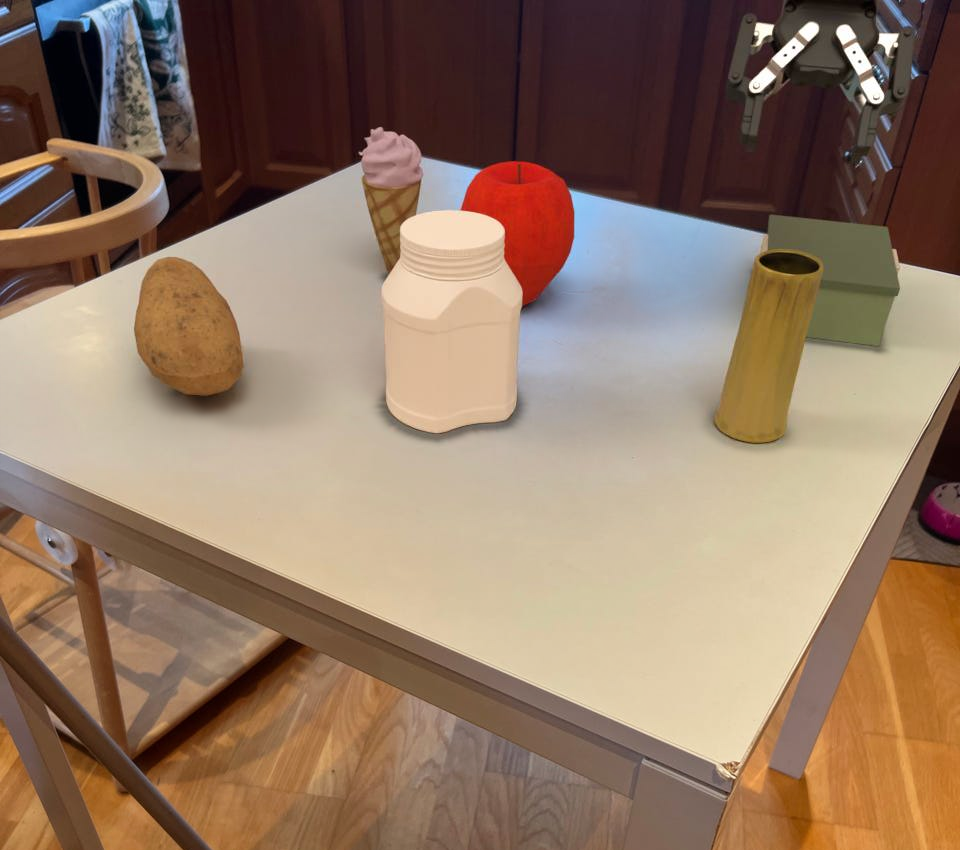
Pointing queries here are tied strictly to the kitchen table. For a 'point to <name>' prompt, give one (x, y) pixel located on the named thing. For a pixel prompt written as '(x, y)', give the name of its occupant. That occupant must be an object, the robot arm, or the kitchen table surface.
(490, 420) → the jar
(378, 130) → the ice cream cone
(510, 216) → the apple
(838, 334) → the lunchbox
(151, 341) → the potato
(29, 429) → the kitchen table surface
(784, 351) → the vase
